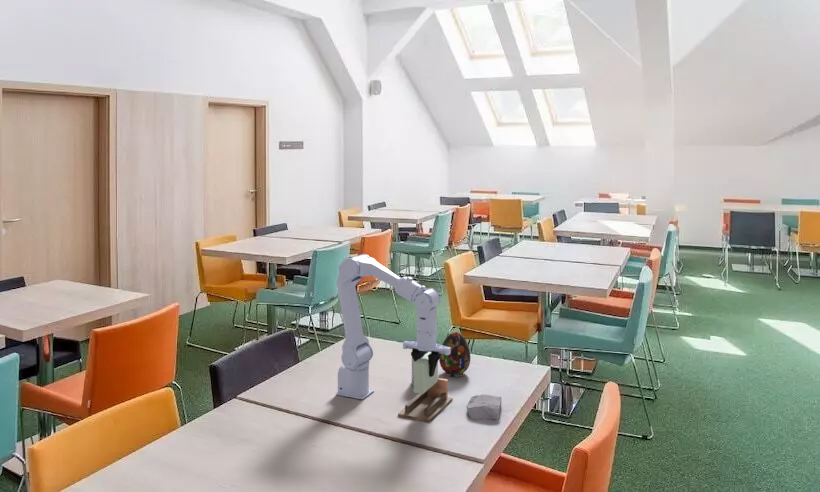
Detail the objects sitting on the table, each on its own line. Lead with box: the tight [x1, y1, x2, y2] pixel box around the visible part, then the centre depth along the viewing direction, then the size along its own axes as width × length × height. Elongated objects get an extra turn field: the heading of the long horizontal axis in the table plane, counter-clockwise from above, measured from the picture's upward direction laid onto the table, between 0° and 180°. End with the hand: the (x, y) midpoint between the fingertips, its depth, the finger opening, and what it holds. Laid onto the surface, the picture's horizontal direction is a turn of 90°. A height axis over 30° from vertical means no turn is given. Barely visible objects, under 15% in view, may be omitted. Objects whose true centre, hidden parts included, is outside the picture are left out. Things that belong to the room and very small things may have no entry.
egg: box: [438, 330, 471, 378], centre depth 222 cm, size 11×11×15 cm
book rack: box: [397, 377, 453, 423], centre depth 193 cm, size 10×18×7 cm, turn 156°
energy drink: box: [411, 349, 428, 386], centre depth 213 cm, size 5×5×12 cm
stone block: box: [466, 393, 502, 421], centre depth 192 cm, size 12×5×10 cm
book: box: [413, 352, 439, 394], centre depth 192 cm, size 3×11×9 cm, turn 155°
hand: (426, 374), depth 192 cm, fingers closed on book, 3 cm apart
